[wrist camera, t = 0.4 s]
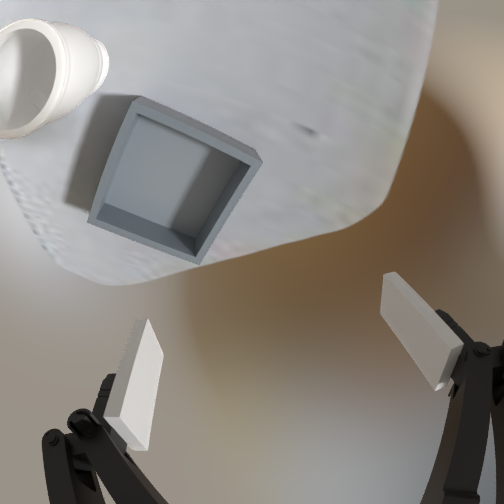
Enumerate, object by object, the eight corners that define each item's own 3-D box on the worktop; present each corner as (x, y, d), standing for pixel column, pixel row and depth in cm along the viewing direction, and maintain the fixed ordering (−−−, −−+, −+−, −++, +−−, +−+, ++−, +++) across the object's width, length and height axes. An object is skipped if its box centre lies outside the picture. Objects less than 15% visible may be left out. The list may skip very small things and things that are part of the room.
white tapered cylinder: (38, 106, 27) (-32, 140, 15) (51, 30, 21) (-21, 28, 9) (109, 109, 30) (58, 142, 18) (127, 30, 24) (80, 12, 12)
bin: (141, 95, 30) (132, 100, 26) (255, 150, 36) (263, 162, 32) (97, 204, 37) (87, 222, 33) (198, 243, 43) (199, 265, 39)
